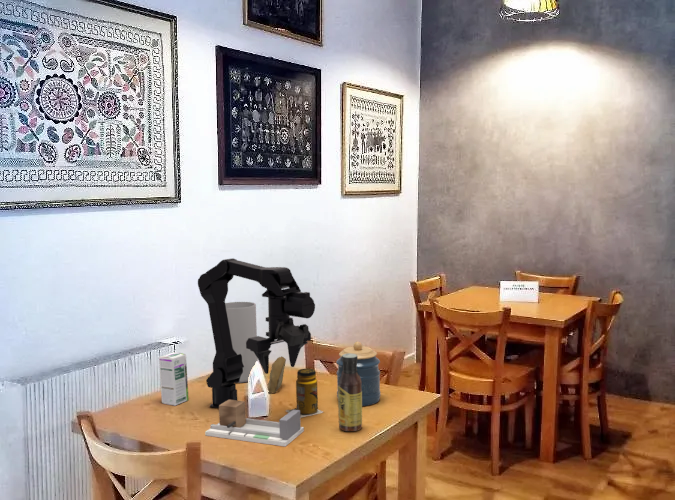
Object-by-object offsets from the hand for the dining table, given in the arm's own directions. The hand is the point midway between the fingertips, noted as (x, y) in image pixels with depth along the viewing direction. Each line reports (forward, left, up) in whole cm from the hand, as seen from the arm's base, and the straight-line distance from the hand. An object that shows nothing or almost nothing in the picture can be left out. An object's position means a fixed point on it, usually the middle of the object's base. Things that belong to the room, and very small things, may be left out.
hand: (279, 370), depth 181 cm
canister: (+15, +22, -14) cm, 30 cm away
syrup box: (-37, +3, -14) cm, 40 cm away
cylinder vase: (-31, +31, -14) cm, 46 cm away
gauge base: (-2, -12, -14) cm, 18 cm away
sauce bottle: (+21, -1, -14) cm, 25 cm away
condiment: (+4, +7, -14) cm, 16 cm away
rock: (-15, +24, -14) cm, 32 cm away
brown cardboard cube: (-8, -14, -12) cm, 20 cm away
